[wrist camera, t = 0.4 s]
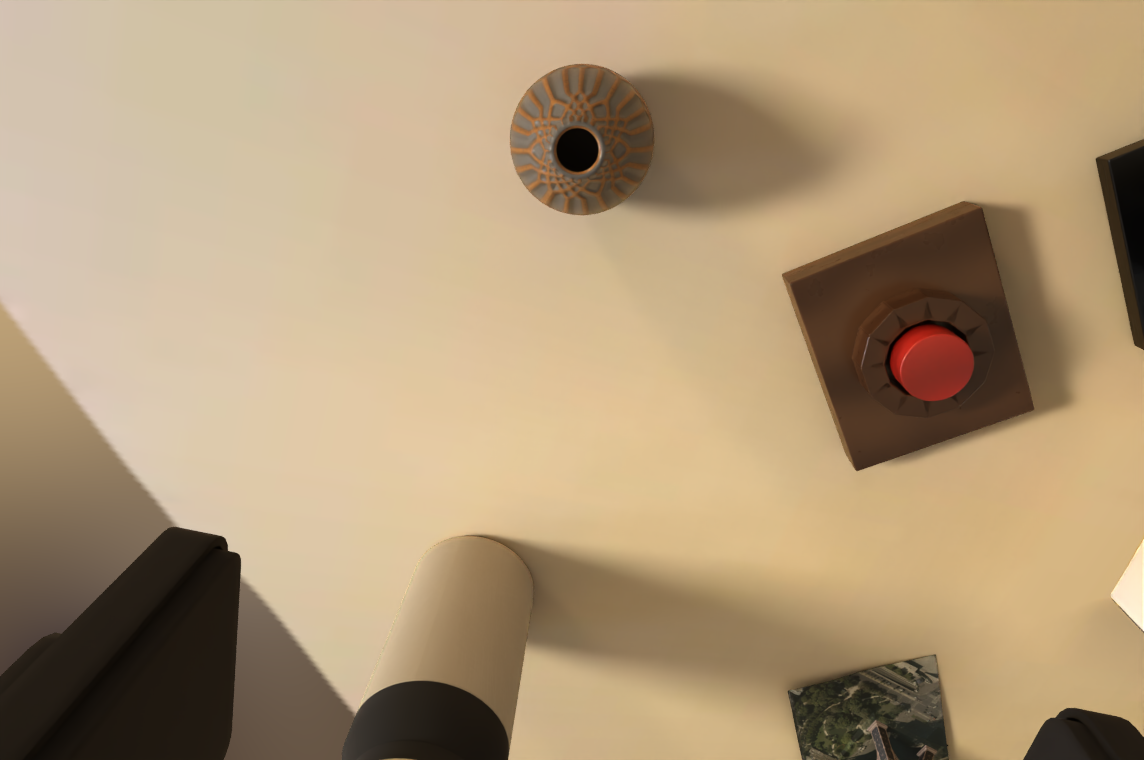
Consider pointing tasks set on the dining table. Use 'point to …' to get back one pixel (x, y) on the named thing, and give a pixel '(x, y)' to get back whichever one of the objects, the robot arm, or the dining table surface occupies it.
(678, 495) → the dining table surface
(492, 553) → the travel mug
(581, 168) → the vase
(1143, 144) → the switch bracket
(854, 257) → the housing
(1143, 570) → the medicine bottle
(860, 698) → the eiffel tower figurine
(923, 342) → the button
